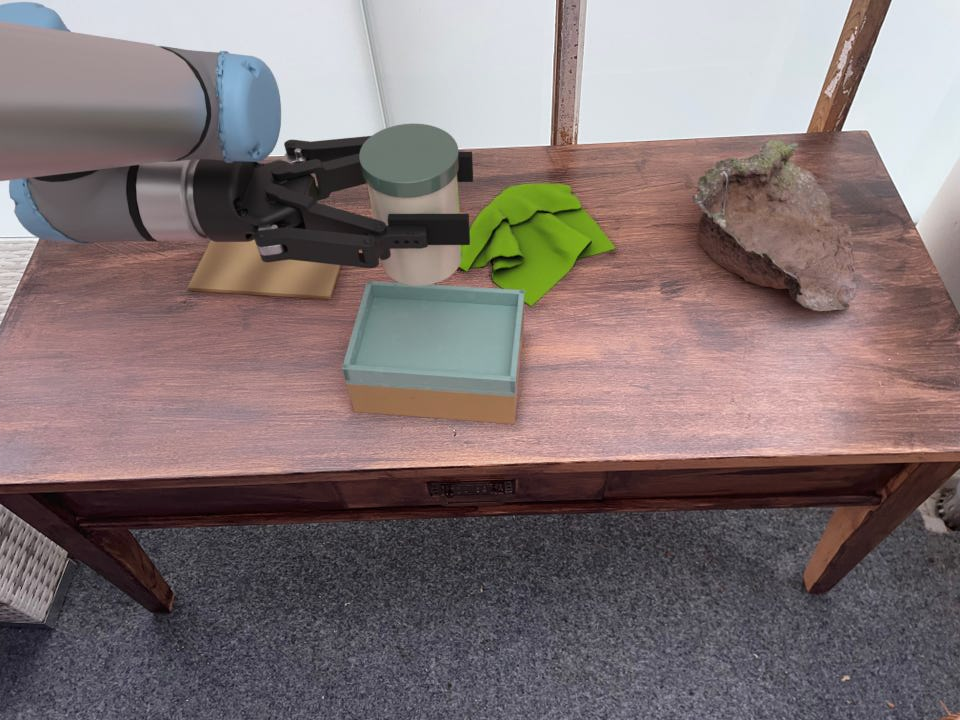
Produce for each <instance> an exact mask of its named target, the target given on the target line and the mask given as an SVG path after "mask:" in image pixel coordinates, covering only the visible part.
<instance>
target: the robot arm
mask: <svg viewBox="0 0 960 720" xmlns="http://www.w3.org/2000/svg"><path fill="white" fill-rule="evenodd" d="M281 102H282V101H281V93H280V89H279V86H278V82H277V80H276V77H275V75H274V73H273V72H272V70H271V68H270V67H269V66H268V65H267V64H266V62H264V61H263V60H262V59H260V58H259V57H256V56H253V55H246V54H239V53H238V54H237V53H230V52H229V51H226V50H220V51H219V52H217V51H216V52H214V51H204V50H192V49H184V48H179V47H178V48H177V47H170V46H165V45H156V44H153V43H147V42H139V41H133V40H128V39H121V38H113V37H107V36H101V35H94V34H87V33H81V32H73V31H71V30H70V29H69V28H68V27H67V25H66V24H65V23H64V21H63V19H62V17H61V16H60V15H59V14H58V12H57V11H56V10H54V9H52V8H49V7H47V6H45V5H44V4H41V3H38V2H34V1H33V2H32V1H17V2H8V3H2V4H0V182H6V181H9V183H8V193H9V198H10V199H11V200H12V201H13V203H14V210H13V213H14V215H15V217H16V218H17V220H18V222H19V223H20V225H21V226H22V227H23V228H24V229H25V230H26V231H27V232H28V233H30V234H31V235H33V236H35V237H36V238H39V239H41V240H43V241H54V242H64V243H65V242H67V243H75V244H79V245H86V244H87V245H91V244H95V243H119V242H120V243H121V242H152V243H155V242H156V243H157V242H158V243H159V242H207V241H208V240H210V241H211V240H212V241H214V242H250V241H252V240H254V239H255V242H256V245H257V248H258V251H259V253H260V256H261V259H262V261H263V262H275V261H282V260H298V261H307V262H316V263H325V264H334V265H342V267H343V266H344V267H353V268H364V269H376V268H378V267H379V265H380V260H386V259H388V258H389V257H390V256H391V252H390V249H409V248H410V249H414V248H415V249H422V248H426V247H428V245H470V213H460V214H388V226H386V224H385V222H383V221H379V220H376V219H373V217H368V216H365V215H361V214H358V213H354V212H351V211H347V210H344V209H341V208H337V207H334V206H331V205H326V204H323V203H321V202H320V203H319V202H318V201H323V200H326V199H328V198H329V197H330V195H331V194H332V193H336V192H340V191H343V190H346V189H351V188H355V187H359V186H363V185H367V184H366V181H365V180H364V178H363V175H362V170H361V165H360V159H359V154H360V150H361V148H362V146H363V144H364V143H365V142H366V141H367V140H368V139H369V138H370V137H371V136H372V135H366V136H365V135H364V136H354V137H343V138H334V139H333V138H332V139H323V140H314V141H308V140H301V139H287V140H286V141H285V142H284V144H283V146H284V149H285V154H284V155H283V156H282V158H281V159H277V160H274V161H270V162H265V163H260V162H261V161H263V160H265V159H266V158H268V157H269V156H270V155H271V153H272V152H273V151H274V149H275V147H277V142H278V141H279V136H280V133H281V128H282V103H281ZM458 153H459V169H458V172H457V177H458V183H473V182H474V162H473V151H458ZM312 174H314V175H315V176H313V175H312ZM315 178H316V179H315ZM359 251H361V252H359Z"/></svg>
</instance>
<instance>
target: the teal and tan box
mask: <svg viewBox="0 0 960 720" xmlns="http://www.w3.org/2000/svg"><path fill="white" fill-rule="evenodd" d="M524 296H525V290H512V289H502V288H494V287H478V286H464V285H463V286H461V285H444V284H430V285H422V286H414V285H407V284H403V283H400V282H398V281H394V282H393V281H380V280H379V281H378V280H377V281H376V280H367V281H366V283H365V287H364V289H363V294H362V297H361V301H360V305H359V308H358V310H357V315H356V317H355V321H354V324H353V328H352V332H351V334H350V335H351V336H350V339H349V341H348V342H349V343H348V345H347V346H348V347H347V349H346V353H345V356H344V360H343V363H342V366H341V371H342V374H343V377H344V381H345V384H346V388H347V391H348V394H349V397H350V403H351V405H352V408H353V412H354V413H362V414H363V413H366V414H375V415H377V414H379V415H388V416H389V415H391V416H404V417H417V418H427V419H428V418H429V419H441V420H453V421H455V420H456V421H467V422H479V423H480V422H481V423H492V424H493V423H494V424H509V425H515V424H516V417H517V407H518V405H517V404H518V395H519V385H520V376H521V375H520V374H521V364H522V355H523V354H522V353H523V345H524V344H523V343H524V341H523V340H524V324H525V323H524V322H525V302H524Z"/></svg>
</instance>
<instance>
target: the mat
mask: <svg viewBox="0 0 960 720" xmlns="http://www.w3.org/2000/svg"><path fill="white" fill-rule="evenodd" d="M342 267H343V265H334V264H325V263H316V262H307V261H298V260H282V261H275V262H263V261H262V259H261V256H260V253H259V251H258V248H257V245H256V242H255V239H254V240H252V241H250V242H214V241H212V240H211V239H210V241H209V243H208V245H207V246H206V249H205V251H204V253H203V255H202V257H201V259H200V261H199V263H198V265H197V267H196V269H195V271H194V273H193V275H192V277H191V279H190V281H189V283H188V285H187V290H188V291H190V292H204V293H219V294H220V293H221V294H235V295H236V294H237V295H251V296H253V295H254V296H265V297H266V296H269V297H284V298H299V299H315V300H332V298H333V294H334V291H335V289H336V288H335V287H336V284H337V282H338V280H339V276H340V272H341V270H342Z"/></svg>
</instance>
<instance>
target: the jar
mask: <svg viewBox="0 0 960 720" xmlns="http://www.w3.org/2000/svg"><path fill="white" fill-rule="evenodd" d="M370 136H371V137H370V138H369V139H368V140H367V141H366V142H365V143H364V144H363V146H362V148H361V150H360V154H359V159H360V165H361V170H362V175H363V178H364V180H365V181H366V184H365V185H366V189H367V196H368V201H369V206H370V210H371V216H372V217H371V218H372V219H376V220H379V221H383V222H385V224H386V226H388V214H461V211H460V210H461V209H460V195H459V182H458V177H457V172H458V169H459V153H458V152H459V146H458V143H457V141H456V139H455V138H454V137H453V136H452V135H451V134H450V133H449V132H447V131H446V130H444V129H442V128H440V127H437V126H434V125H430V124H426V123H425V124H424V123H403V124H402V123H401V124H395V125H392V126H389V127H386V128H383V129H381V130H379V131H377V132H375V133H374V134H372V135H370ZM390 252H391V256H390V257H389V258H388V259H386V260H380V259H379V262H380V265H381V268H382V270H383V271H384V273H385V274H386V275H387V277H389V278H391V279H392V280H394V281H395V282H397V283H403V284H407V285H414V286H422V285H435V284H437V283H440V282H442V281H444V280H446V279H448V278H449V277H451V276H452V275H453V274H454V273H455V272H456V271H457V270H458V269H459V268H458V267H459V265H460V263H461V260H462V245H428V247H426V248H422V249H415V248H414V249H410V248H409V249H390Z"/></svg>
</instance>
